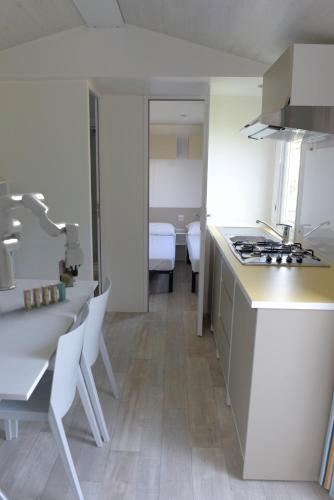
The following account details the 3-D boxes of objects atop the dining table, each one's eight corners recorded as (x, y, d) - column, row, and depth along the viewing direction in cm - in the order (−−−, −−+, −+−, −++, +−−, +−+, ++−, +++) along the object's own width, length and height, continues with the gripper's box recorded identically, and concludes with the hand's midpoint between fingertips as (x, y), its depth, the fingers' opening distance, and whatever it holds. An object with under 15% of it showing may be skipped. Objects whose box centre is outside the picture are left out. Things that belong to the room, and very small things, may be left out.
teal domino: (58, 298, 217) (58, 282, 215) (61, 298, 218) (61, 281, 216) (62, 301, 213) (62, 284, 211) (65, 300, 214) (65, 283, 212)
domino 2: (33, 304, 207) (32, 287, 205) (36, 304, 208) (35, 286, 206) (37, 307, 203) (36, 289, 201) (40, 306, 204) (39, 289, 202)
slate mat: (19, 307, 204) (19, 306, 204) (63, 297, 221) (63, 296, 221) (25, 312, 197) (25, 311, 197) (71, 301, 214) (71, 300, 214)
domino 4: (50, 300, 213) (49, 283, 211) (53, 300, 215) (52, 283, 212) (54, 303, 210) (53, 286, 208) (57, 302, 211) (56, 285, 209)
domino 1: (24, 307, 204) (23, 289, 201) (27, 306, 205) (26, 288, 203) (28, 309, 200) (26, 291, 198) (31, 308, 201) (30, 291, 199)
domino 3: (42, 302, 210) (41, 285, 208) (45, 302, 211) (44, 285, 209) (46, 305, 207) (45, 287, 204) (49, 304, 208) (48, 287, 206)
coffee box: (76, 283, 246) (75, 259, 243) (73, 286, 240) (72, 262, 236) (63, 283, 247) (62, 259, 243) (59, 286, 241) (58, 261, 237)
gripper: (64, 247, 206) (66, 280, 210) (88, 244, 216) (89, 275, 220) (58, 245, 212) (60, 277, 216) (81, 242, 222) (83, 272, 225)
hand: (75, 276), depth 218 cm, fingers closed
